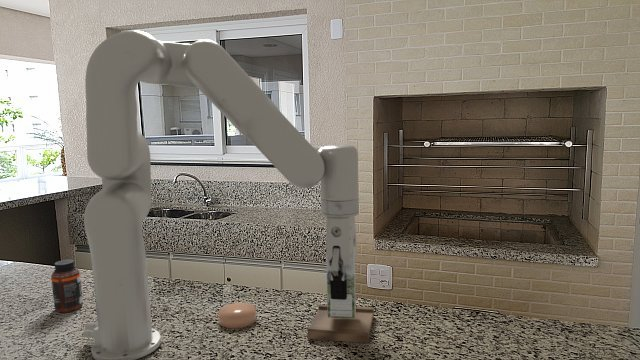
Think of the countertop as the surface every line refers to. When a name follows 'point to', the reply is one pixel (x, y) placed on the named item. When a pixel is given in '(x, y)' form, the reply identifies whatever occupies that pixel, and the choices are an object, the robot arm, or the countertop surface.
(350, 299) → the syrup box
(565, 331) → the countertop surface
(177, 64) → the robot arm
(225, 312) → the peach smooth rounded part
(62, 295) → the supplement bottle
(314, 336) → the brown flat square block
